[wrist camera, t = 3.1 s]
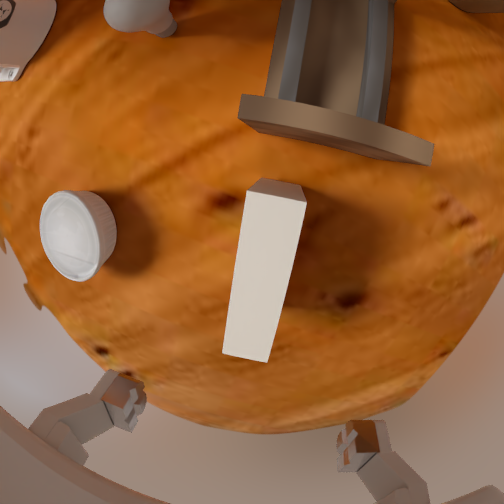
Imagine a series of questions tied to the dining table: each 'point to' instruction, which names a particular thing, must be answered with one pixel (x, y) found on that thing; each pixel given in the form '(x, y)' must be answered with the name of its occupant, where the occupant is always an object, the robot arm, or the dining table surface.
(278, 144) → the dining table surface
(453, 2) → the plant pot
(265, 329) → the door panel
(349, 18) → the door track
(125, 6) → the lightbulb
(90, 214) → the ramekin
